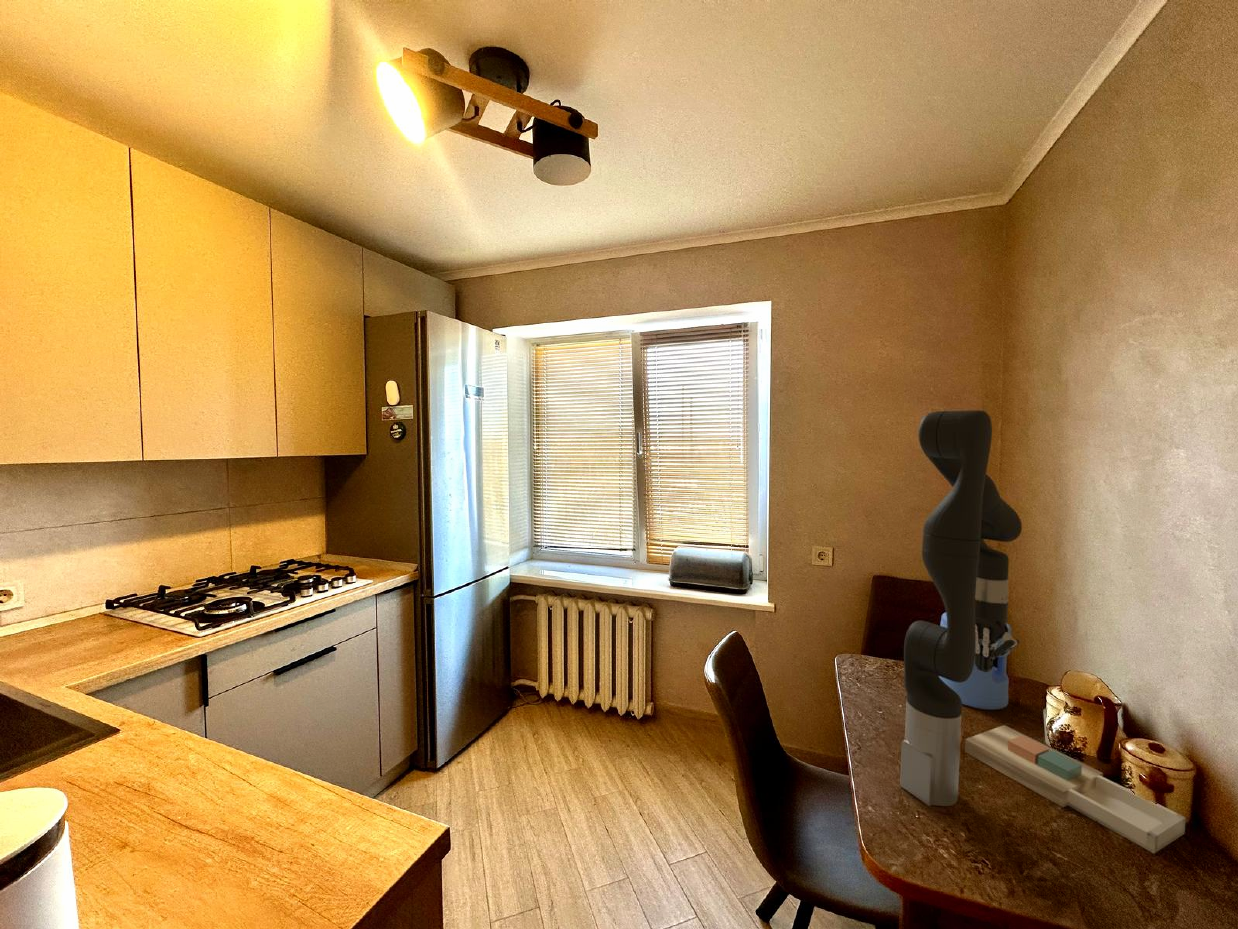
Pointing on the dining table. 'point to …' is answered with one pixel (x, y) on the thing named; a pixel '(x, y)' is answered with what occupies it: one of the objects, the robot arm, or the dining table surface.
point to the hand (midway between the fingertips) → (983, 670)
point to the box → (1129, 814)
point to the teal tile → (1060, 765)
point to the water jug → (983, 683)
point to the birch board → (1027, 766)
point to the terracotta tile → (1027, 748)
